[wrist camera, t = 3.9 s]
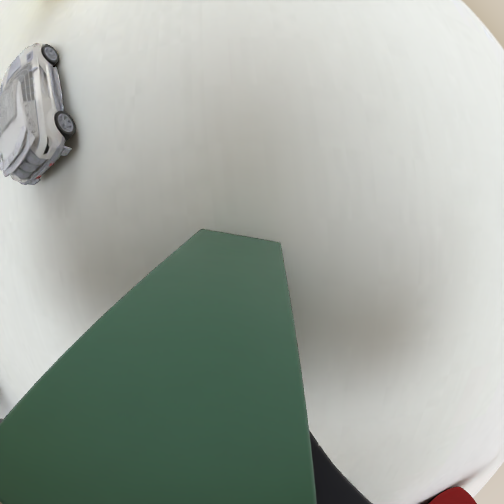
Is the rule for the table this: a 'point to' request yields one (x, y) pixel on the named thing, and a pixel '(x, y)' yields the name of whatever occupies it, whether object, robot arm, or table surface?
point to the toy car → (32, 115)
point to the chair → (453, 497)
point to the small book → (173, 393)
